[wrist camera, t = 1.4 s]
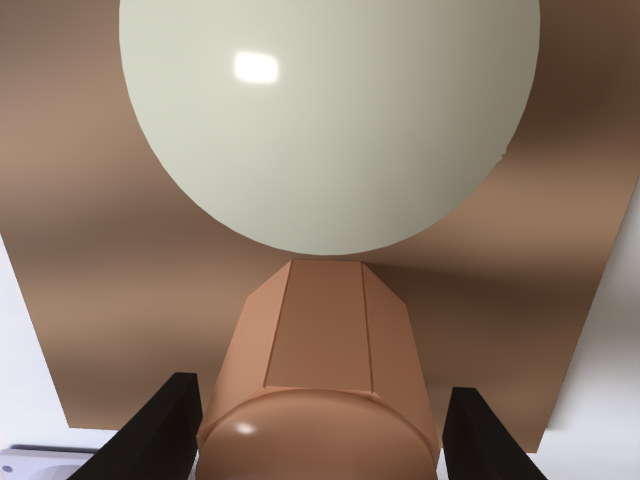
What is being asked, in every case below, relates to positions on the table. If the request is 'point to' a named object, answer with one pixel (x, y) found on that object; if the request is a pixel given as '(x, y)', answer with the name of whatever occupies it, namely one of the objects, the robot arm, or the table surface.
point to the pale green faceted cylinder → (329, 109)
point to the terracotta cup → (320, 384)
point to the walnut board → (264, 261)
